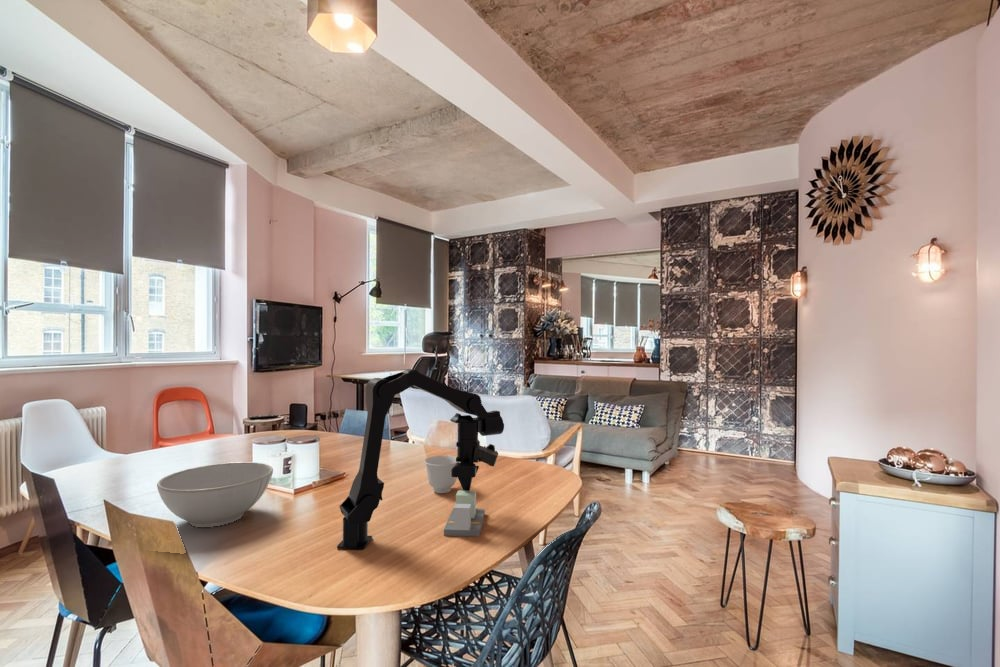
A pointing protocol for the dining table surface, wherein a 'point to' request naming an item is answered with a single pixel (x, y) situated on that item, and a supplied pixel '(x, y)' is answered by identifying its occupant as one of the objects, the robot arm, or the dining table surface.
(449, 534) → the board
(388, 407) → the robot arm
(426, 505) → the dining table surface
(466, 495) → the sleeve
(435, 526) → the dining table surface
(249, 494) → the decorative bowl
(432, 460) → the teacup
